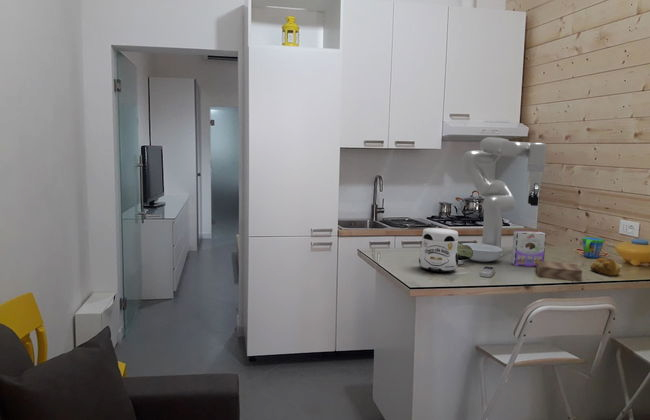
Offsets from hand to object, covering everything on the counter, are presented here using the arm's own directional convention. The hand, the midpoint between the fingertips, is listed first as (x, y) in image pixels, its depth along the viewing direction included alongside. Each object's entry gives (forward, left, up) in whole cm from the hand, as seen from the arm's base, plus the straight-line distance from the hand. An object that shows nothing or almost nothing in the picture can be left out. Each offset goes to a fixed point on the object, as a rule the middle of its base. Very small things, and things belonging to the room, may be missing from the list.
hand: (532, 204), depth 245 cm
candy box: (0, 0, -30) cm, 30 cm away
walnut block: (+11, -17, -30) cm, 36 cm away
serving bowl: (-22, +2, -30) cm, 37 cm away
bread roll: (+34, -2, -30) cm, 45 cm away
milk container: (-41, -30, -30) cm, 59 cm away
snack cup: (+37, +39, -30) cm, 62 cm away
